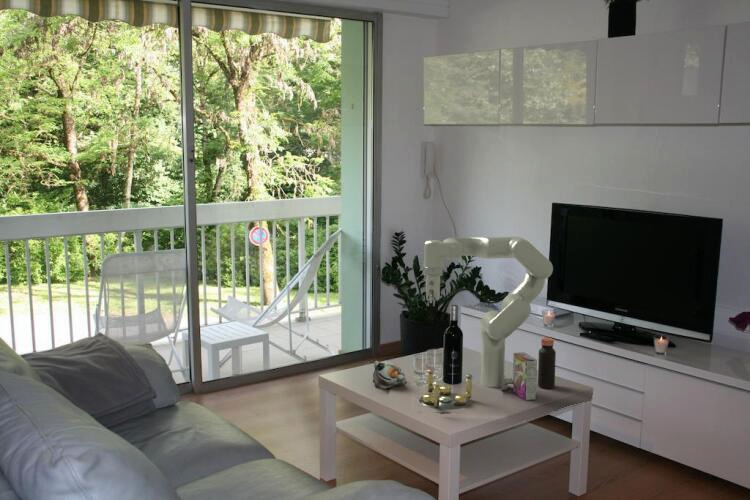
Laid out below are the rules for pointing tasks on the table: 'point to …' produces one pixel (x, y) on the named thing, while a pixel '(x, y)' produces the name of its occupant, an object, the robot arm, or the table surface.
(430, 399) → the gold l-shaped fitting
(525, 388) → the candy bar box
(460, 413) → the table surface
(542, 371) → the bottle
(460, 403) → the gold bent piece
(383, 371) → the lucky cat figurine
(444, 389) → the gold u-shaped piece
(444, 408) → the tribrach plate
